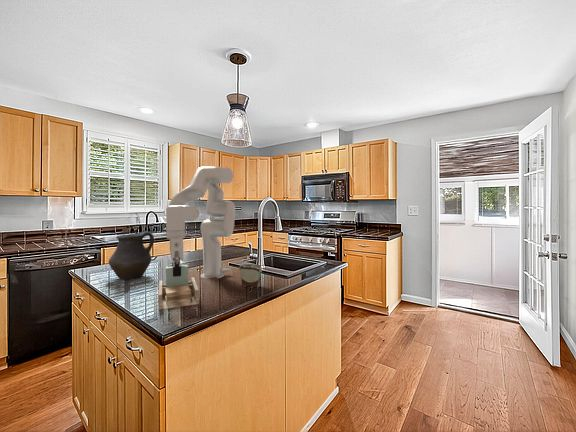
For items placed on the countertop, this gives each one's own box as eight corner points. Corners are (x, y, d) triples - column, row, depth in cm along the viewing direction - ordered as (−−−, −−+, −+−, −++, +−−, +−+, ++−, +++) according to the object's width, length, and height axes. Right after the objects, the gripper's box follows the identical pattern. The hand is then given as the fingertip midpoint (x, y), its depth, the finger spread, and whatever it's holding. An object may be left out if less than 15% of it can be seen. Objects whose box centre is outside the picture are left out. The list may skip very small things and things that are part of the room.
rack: (194, 292, 130) (193, 277, 129) (199, 307, 111) (198, 290, 111) (159, 296, 124) (159, 280, 123) (159, 313, 106) (158, 295, 105)
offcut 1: (188, 289, 119) (188, 285, 119) (190, 294, 113) (190, 290, 113) (165, 292, 115) (165, 288, 115) (166, 297, 109) (166, 293, 109)
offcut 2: (190, 292, 120) (190, 288, 120) (191, 297, 113) (191, 294, 113) (167, 295, 116) (167, 291, 116) (166, 300, 110) (166, 296, 110)
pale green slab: (188, 291, 126) (187, 264, 125) (188, 293, 124) (188, 266, 123) (166, 294, 122) (165, 266, 122) (166, 296, 120) (165, 268, 119)
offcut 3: (188, 296, 120) (188, 292, 119) (190, 301, 113) (190, 297, 113) (165, 299, 116) (165, 295, 115) (166, 305, 109) (166, 301, 109)
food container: (266, 285, 140) (266, 265, 139) (260, 288, 134) (260, 268, 134) (245, 282, 145) (245, 262, 145) (239, 285, 140) (238, 265, 139)
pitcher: (110, 275, 158) (108, 231, 156) (153, 270, 168) (152, 229, 167) (108, 285, 140) (106, 235, 138) (156, 279, 150) (155, 232, 149)
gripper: (186, 236, 115) (187, 277, 116) (183, 232, 131) (184, 268, 131) (166, 236, 112) (167, 279, 113) (166, 232, 128) (167, 270, 128)
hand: (176, 273), depth 122 cm, fingers open, 9 cm apart
